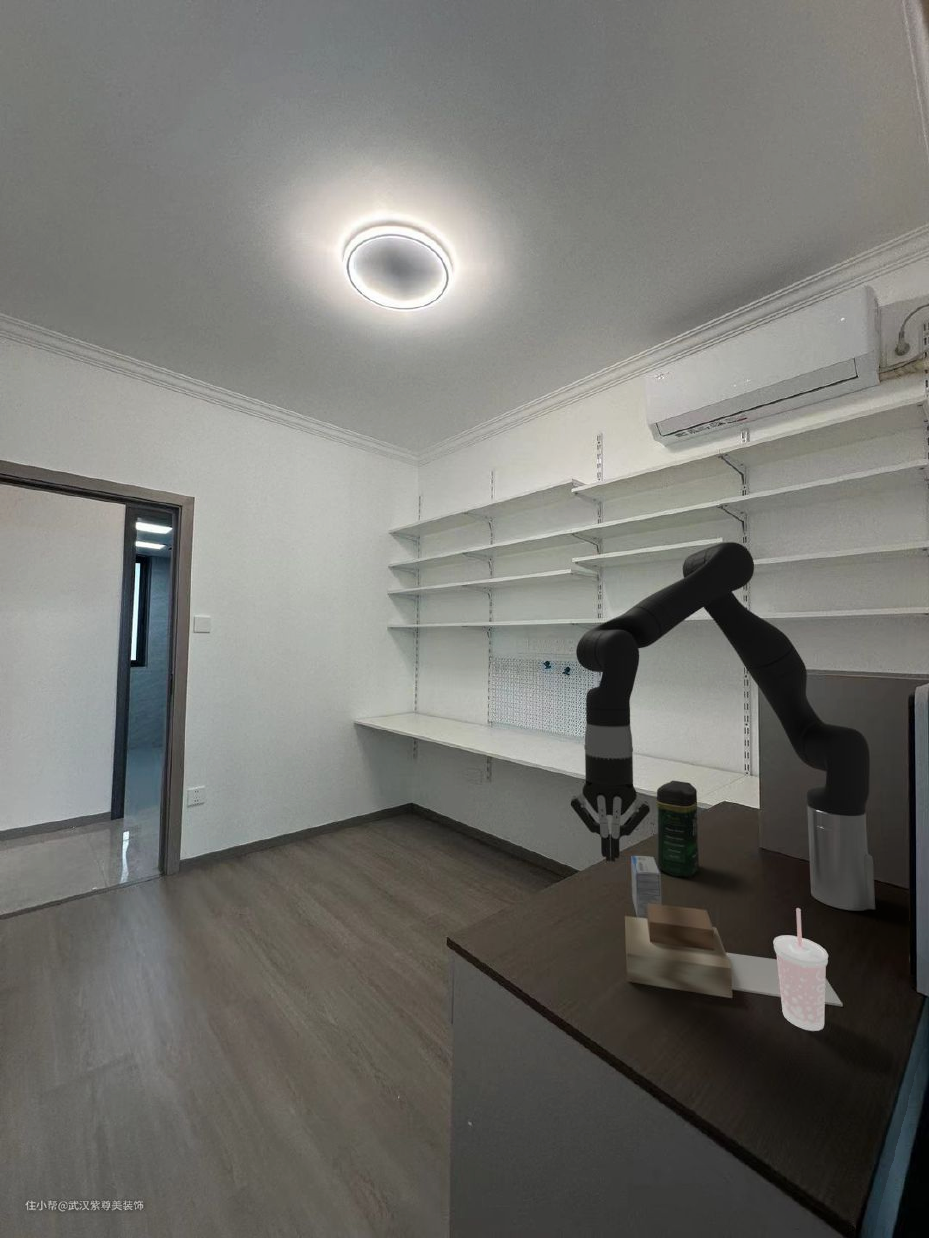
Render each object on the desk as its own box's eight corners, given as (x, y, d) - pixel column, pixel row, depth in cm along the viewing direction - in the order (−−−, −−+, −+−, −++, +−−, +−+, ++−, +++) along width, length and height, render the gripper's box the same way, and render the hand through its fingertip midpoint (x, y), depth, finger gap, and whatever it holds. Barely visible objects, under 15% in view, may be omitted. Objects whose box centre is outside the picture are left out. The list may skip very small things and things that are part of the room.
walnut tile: (707, 929, 83) (706, 909, 83) (714, 950, 77) (713, 929, 77) (647, 921, 85) (646, 902, 85) (649, 941, 79) (649, 921, 80)
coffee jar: (693, 881, 108) (690, 791, 109) (654, 872, 113) (651, 785, 114) (703, 865, 116) (700, 781, 117) (666, 857, 121) (663, 776, 122)
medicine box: (663, 923, 92) (661, 873, 92) (636, 921, 93) (635, 871, 93) (655, 902, 100) (654, 856, 100) (631, 900, 101) (630, 854, 101)
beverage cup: (804, 1039, 65) (799, 923, 66) (765, 1006, 71) (761, 900, 72) (843, 1030, 66) (838, 917, 67) (802, 998, 72) (797, 895, 73)
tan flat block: (717, 953, 83) (716, 927, 83) (732, 998, 72) (731, 968, 73) (625, 940, 87) (624, 915, 87) (627, 981, 76) (626, 953, 76)
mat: (817, 967, 79) (817, 965, 79) (842, 1006, 71) (842, 1004, 71) (717, 953, 83) (717, 951, 83) (729, 988, 74) (729, 986, 74)
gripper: (649, 749, 87) (651, 854, 86) (569, 745, 91) (570, 846, 90) (653, 758, 80) (655, 874, 79) (565, 753, 83) (567, 864, 83)
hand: (610, 859), depth 84 cm, fingers closed
